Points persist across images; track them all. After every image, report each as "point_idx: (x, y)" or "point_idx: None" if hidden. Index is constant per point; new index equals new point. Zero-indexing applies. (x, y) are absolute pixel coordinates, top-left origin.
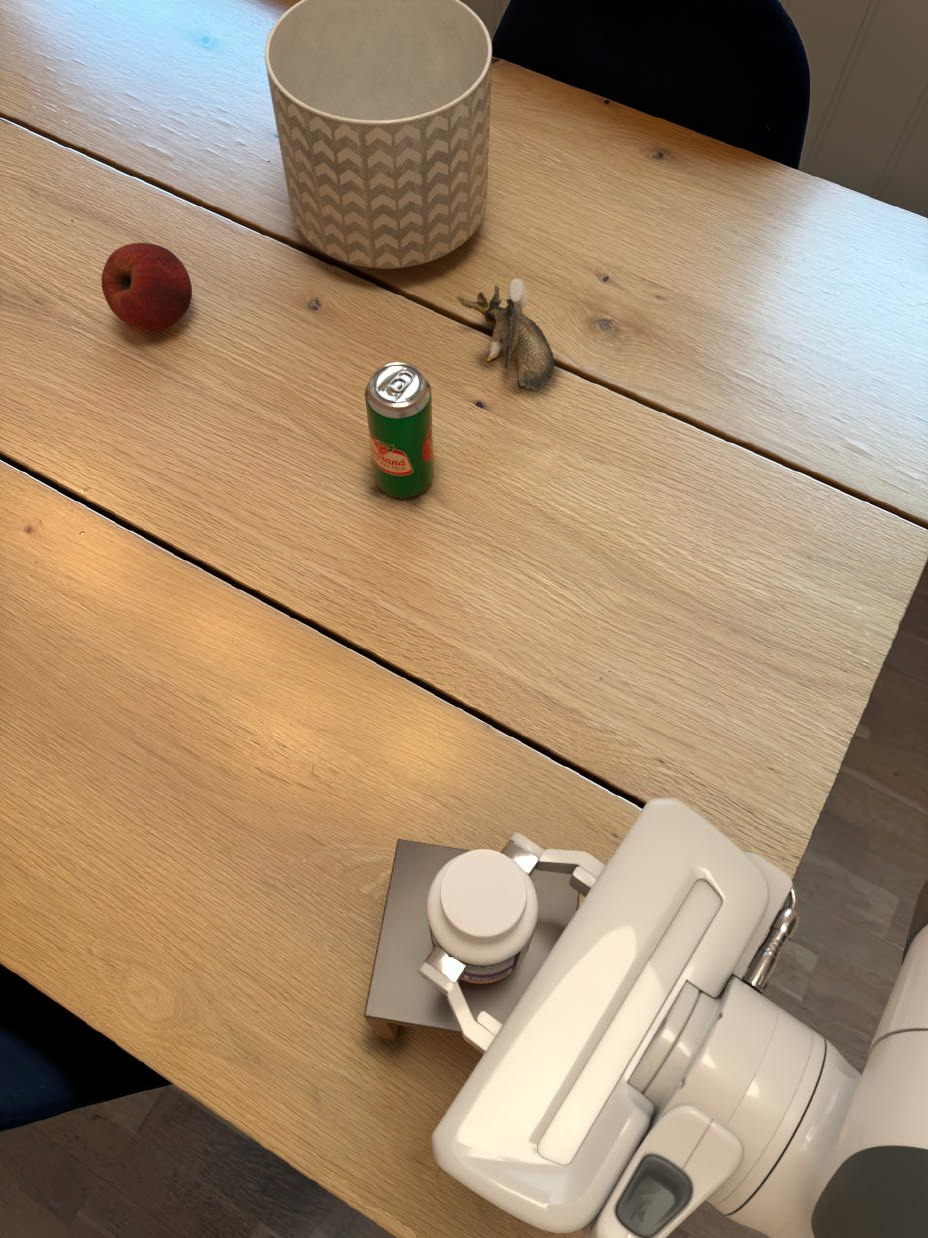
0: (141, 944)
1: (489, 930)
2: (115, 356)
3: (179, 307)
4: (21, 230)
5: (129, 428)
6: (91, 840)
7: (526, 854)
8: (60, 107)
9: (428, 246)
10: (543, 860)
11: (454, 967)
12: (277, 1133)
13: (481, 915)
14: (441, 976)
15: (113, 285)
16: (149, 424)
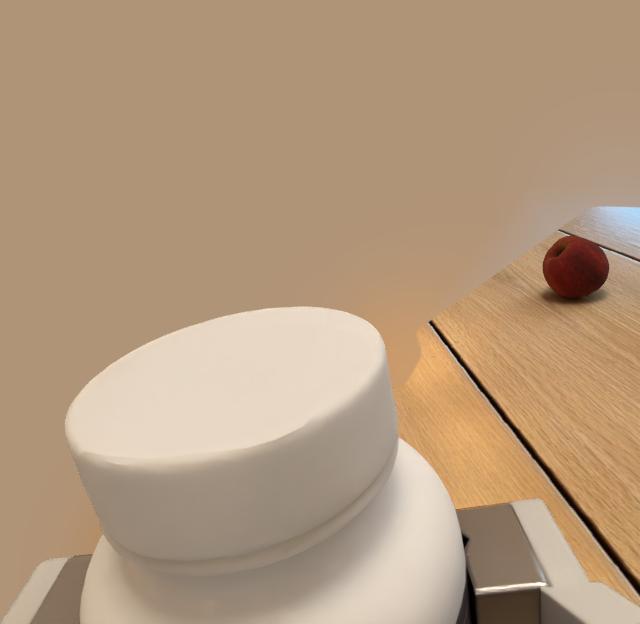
0: None
1: (95, 431)
2: (531, 302)
3: (589, 279)
4: (525, 257)
5: (508, 328)
6: None
7: (516, 547)
8: (589, 229)
9: None
10: (558, 596)
11: (70, 613)
12: None
13: (146, 395)
14: (35, 601)
15: (551, 255)
16: (523, 330)
